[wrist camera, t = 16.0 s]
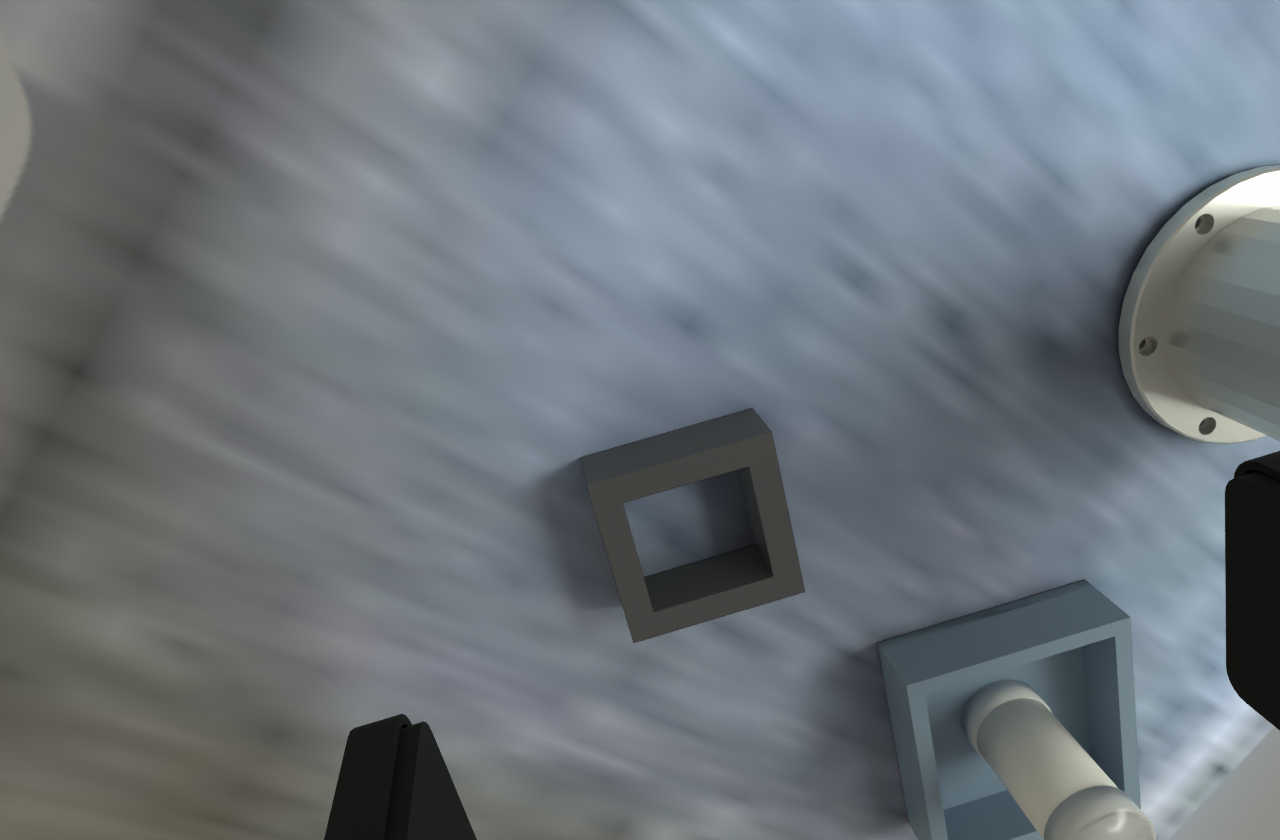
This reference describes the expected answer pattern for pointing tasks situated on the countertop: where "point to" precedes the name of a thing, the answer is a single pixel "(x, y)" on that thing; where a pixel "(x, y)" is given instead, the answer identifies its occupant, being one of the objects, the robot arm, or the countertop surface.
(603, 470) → the frame
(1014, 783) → the cylinder
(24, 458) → the countertop surface
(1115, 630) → the parts tray
